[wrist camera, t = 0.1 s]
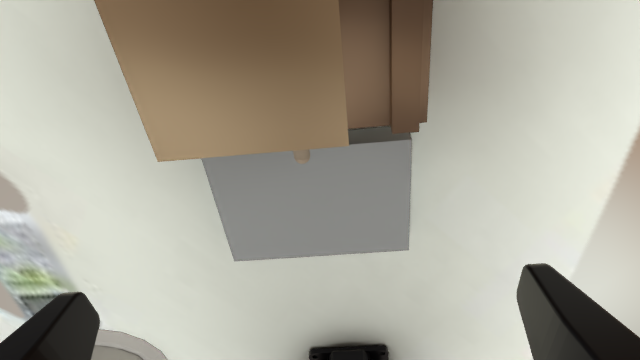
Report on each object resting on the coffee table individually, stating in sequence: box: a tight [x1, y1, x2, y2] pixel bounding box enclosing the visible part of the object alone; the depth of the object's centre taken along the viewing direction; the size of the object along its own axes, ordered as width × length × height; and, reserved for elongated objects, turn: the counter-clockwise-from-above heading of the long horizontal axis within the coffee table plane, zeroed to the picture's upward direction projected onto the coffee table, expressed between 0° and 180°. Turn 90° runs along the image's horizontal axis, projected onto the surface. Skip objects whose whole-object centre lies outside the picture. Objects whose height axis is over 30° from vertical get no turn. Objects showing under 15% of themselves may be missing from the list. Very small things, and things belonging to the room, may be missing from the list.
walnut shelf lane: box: [338, 0, 433, 134], centre depth 18 cm, size 11×12×3 cm
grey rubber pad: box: [201, 126, 412, 261], centre depth 25 cm, size 8×11×2 cm
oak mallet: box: [94, 0, 349, 164], centre depth 14 cm, size 10×4×10 cm, turn 6°
